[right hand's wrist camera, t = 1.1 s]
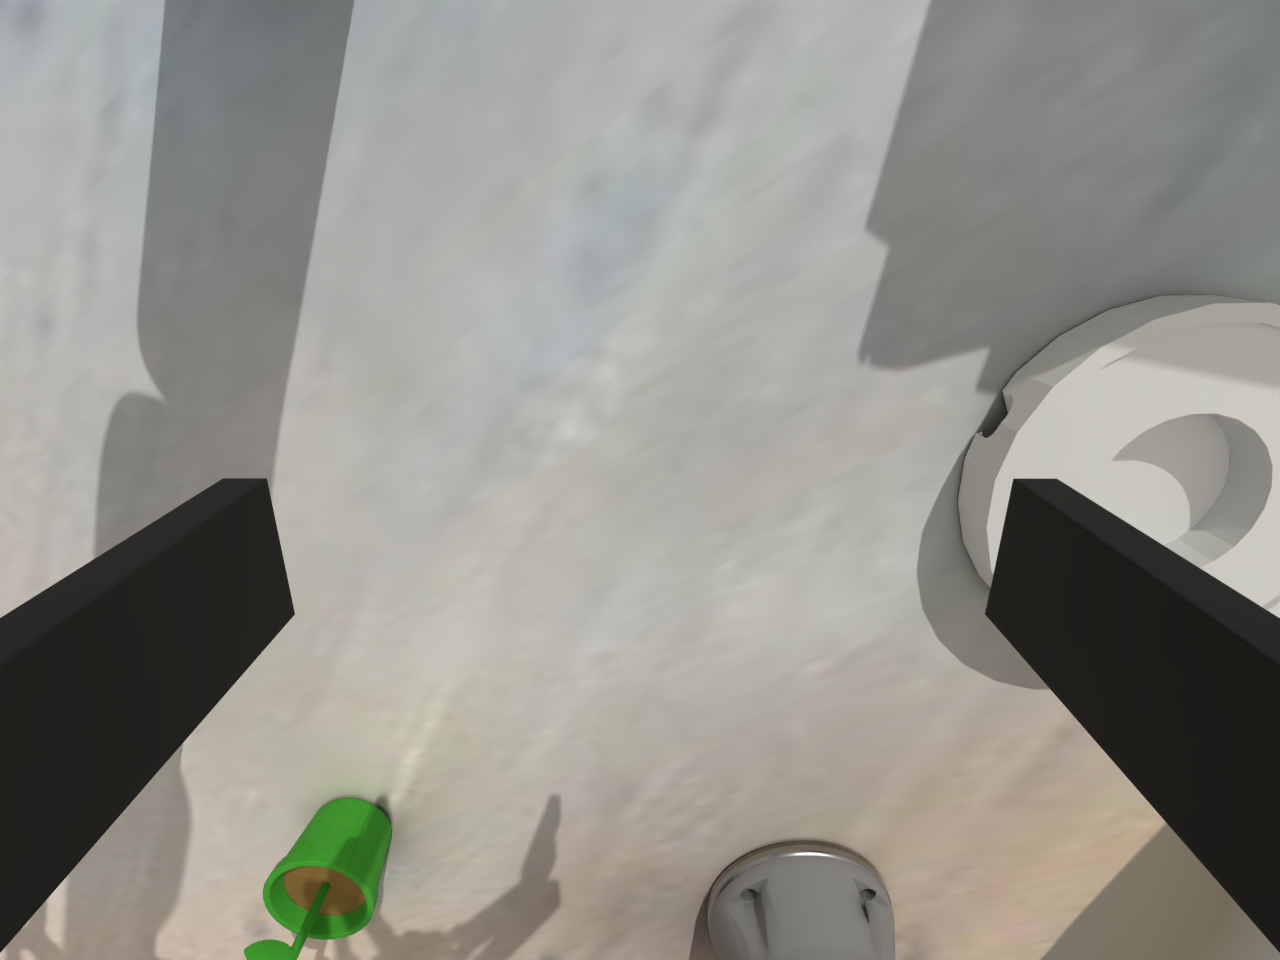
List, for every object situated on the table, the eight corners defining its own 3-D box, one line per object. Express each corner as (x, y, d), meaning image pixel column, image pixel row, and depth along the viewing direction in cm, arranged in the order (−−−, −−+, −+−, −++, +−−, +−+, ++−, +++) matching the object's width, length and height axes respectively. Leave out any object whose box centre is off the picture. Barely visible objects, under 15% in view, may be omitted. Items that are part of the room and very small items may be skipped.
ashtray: (1314, 227, 39) (1385, 228, 35) (1340, 561, 47) (1401, 591, 43) (917, 385, 42) (944, 402, 39) (1001, 673, 50) (1030, 710, 46)
